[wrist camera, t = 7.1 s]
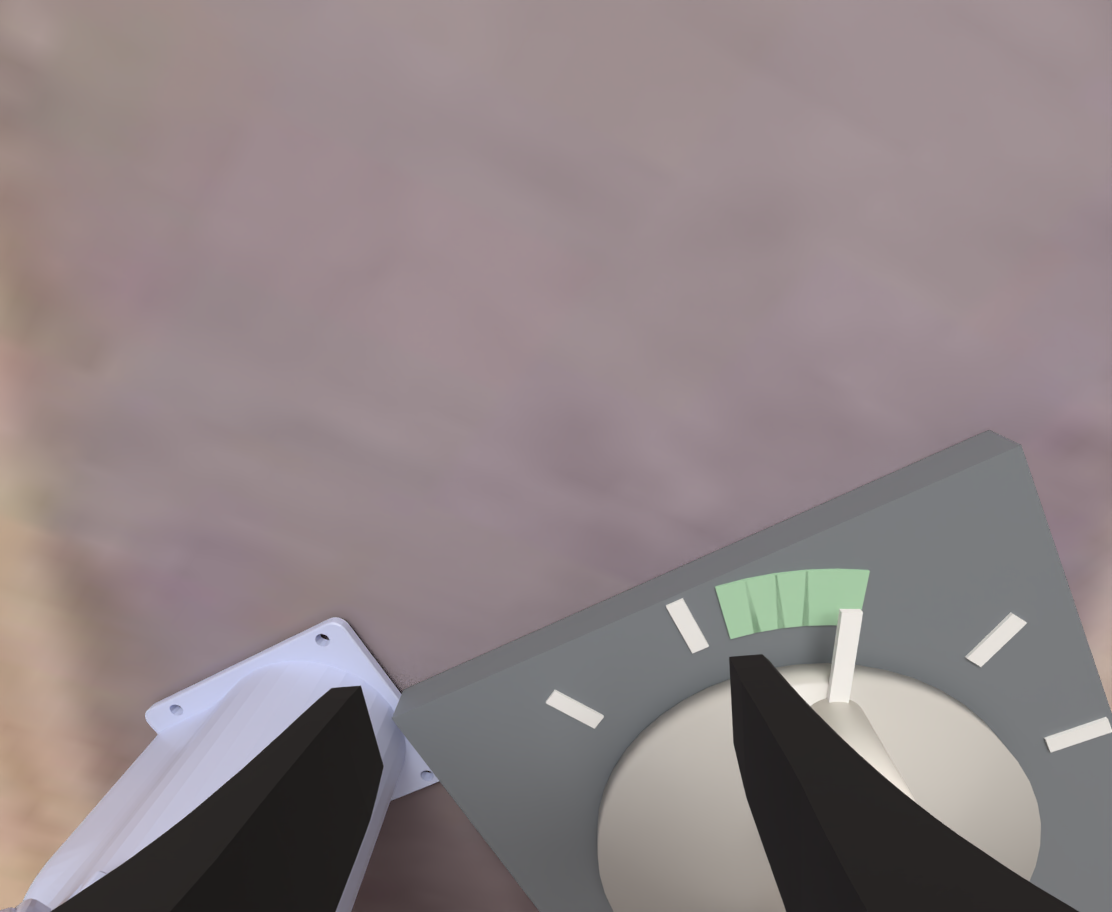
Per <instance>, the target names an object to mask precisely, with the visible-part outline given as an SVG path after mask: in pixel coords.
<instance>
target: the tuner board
mask: <svg viewBox="0 0 1112 912" xmlns="http://www.w3.org/2000/svg"><path fill="white" fill-rule="evenodd" d="M839 609H861V611H862V612H863V616H862V623H861V629H860V635H859V642H858V648H857V654H856V661H855V665H860V666H866V667H871V668H877V669H883V670H888V671H891V672H895V673H898V674H901V675H905V676H908V677H911V678H915V679H917V680H919V681H922V682H924V683H926V684H929V685H931V686H933V687H935V688H938V689H940V690H942V691H943V692H945V693H947V694H948V695H950V696H952V697H953V698H955V699H956V700H958V701H960V702H961V703H963V704H964V705H965V706H967V707H968V708H969V709H970V710H971V711H973V712H974V713H975V714H976V715H977V716H979V717H980V718H981V719H982V720H983V721H984V722H985V723H986V724H987V725H988V727H989V728H990V729H991V730H992V731H993V732H994V734H995V735H996V736H997V737H998V738H999V739H1000V741H1001V742H1002V743H1003V744H1004V745H1005V747H1006V748H1007V749H1008V750H1009V752H1010V753H1011V754H1012V755H1013V756H1014V758H1015V759H1016V760H1017V761H1018V763H1019V765H1020V766H1021V768H1022V770H1023V771H1024V773H1025V775H1026V776H1027V778H1028V779H1029V781H1030V784H1031V786H1032V789H1033V792H1034V795H1035V797H1036V800H1037V803H1038V809H1039V815H1040V821H1041V836H1040V849H1039V853H1038V858H1037V862H1036V867H1035V869H1034V871H1033V874H1032V876H1031V879H1030V881H1029V882H1031V883H1032V884H1034V885H1036V886H1037V887H1039V888H1040V889H1042V890H1044V891H1046V892H1047V893H1049V894H1051V895H1052V896H1054V897H1056V898H1057V899H1059V900H1061V901H1062V902H1064V903H1066V904H1067V905H1069V906H1071V907H1072V908H1074V909H1076V910H1077V911H1079V912H1112V713H1111V710H1110V707H1109V704H1108V701H1107V698H1106V695H1105V692H1104V689H1103V686H1102V683H1101V680H1100V677H1099V674H1098V671H1097V668H1096V665H1095V662H1094V659H1093V656H1092V653H1091V650H1090V648H1089V645H1088V642H1087V639H1086V636H1085V633H1084V630H1083V627H1082V624H1081V621H1080V618H1079V615H1078V612H1077V609H1076V606H1075V603H1074V600H1073V597H1072V594H1071V591H1070V588H1069V585H1068V582H1067V579H1066V576H1065V573H1064V570H1063V567H1062V565H1061V562H1060V559H1059V556H1058V553H1057V550H1056V547H1055V544H1054V541H1053V538H1052V535H1051V532H1050V529H1049V526H1048V523H1047V520H1046V517H1045V514H1044V511H1043V508H1042V505H1041V502H1040V499H1039V496H1038V493H1037V490H1036V487H1035V484H1034V481H1033V479H1032V476H1031V473H1030V470H1029V467H1028V464H1027V461H1026V458H1025V455H1024V452H1023V449H1022V446H1021V445H1020V444H1018V443H1016V442H1014V441H1012V440H1010V439H1008V438H1005V437H1003V436H1001V435H999V434H997V433H995V432H993V431H991V430H988V431H986V432H983V433H981V434H979V435H977V436H974V437H972V438H970V439H968V440H965V441H963V442H961V443H959V444H956V445H954V446H952V447H949V448H947V449H945V450H943V451H940V452H938V453H936V454H934V455H931V456H929V457H927V458H925V459H922V460H920V461H918V462H916V463H913V464H911V465H909V466H907V467H904V468H902V469H900V470H898V471H895V472H893V473H891V474H889V475H886V476H884V477H882V478H880V479H877V480H875V481H873V482H871V483H868V484H866V485H864V486H862V487H859V488H857V489H855V490H853V491H850V492H848V493H846V494H844V495H841V496H839V497H837V498H835V499H832V500H830V501H828V502H826V503H823V504H821V505H819V506H817V507H814V508H812V509H810V510H808V511H805V512H803V513H801V514H799V515H796V516H794V517H792V518H790V519H787V520H785V521H783V522H781V523H778V524H776V525H774V526H772V527H769V528H767V529H765V530H763V531H760V532H758V533H756V534H754V535H751V536H749V537H747V538H745V539H742V540H740V541H738V542H735V543H733V544H731V545H729V546H726V547H724V548H722V549H720V550H717V551H715V552H713V553H711V554H708V555H706V556H704V557H702V558H699V559H697V560H695V561H693V562H690V563H688V564H686V565H684V566H681V567H679V568H677V569H675V570H672V571H670V572H668V573H666V574H663V575H661V576H659V577H657V578H654V579H652V580H650V581H648V582H645V583H643V584H641V585H639V586H636V587H634V588H632V589H630V590H627V591H625V592H623V593H621V594H618V595H616V596H614V597H612V598H609V599H607V600H605V601H603V602H600V603H598V604H596V605H594V606H591V607H589V608H587V609H585V610H582V611H580V612H578V613H576V614H573V615H571V616H569V617H567V618H564V619H562V620H560V621H558V622H555V623H553V624H551V625H549V626H546V627H544V628H542V629H540V630H537V631H535V632H533V633H531V634H528V635H526V636H524V637H521V638H519V639H517V640H515V641H512V642H510V643H508V644H506V645H503V646H501V647H499V648H497V649H494V650H492V651H490V652H488V653H485V654H483V655H481V656H479V657H476V658H474V659H472V660H470V661H467V662H465V663H463V664H461V665H458V666H456V667H454V668H452V669H449V670H447V671H445V672H443V673H440V674H438V675H436V676H434V677H431V678H429V679H427V680H425V681H422V682H420V683H418V684H416V685H413V686H411V687H409V688H407V689H404V690H403V692H402V695H401V697H400V699H399V702H398V704H397V707H396V709H395V712H394V714H393V716H392V720H393V721H394V722H395V724H396V725H397V726H398V728H399V729H400V730H401V732H402V733H403V734H404V735H405V737H406V738H407V739H408V741H409V742H410V743H411V745H412V746H413V747H414V748H415V750H416V751H417V752H418V754H419V755H420V756H421V758H422V759H423V760H424V762H425V763H426V764H427V765H428V767H429V768H430V769H431V771H432V772H433V773H434V775H435V776H436V777H437V778H438V780H439V781H440V782H441V784H442V785H443V786H444V788H445V789H446V790H447V791H448V793H449V794H450V795H451V797H452V798H453V799H454V801H455V802H456V803H457V805H458V806H459V807H460V808H461V810H462V811H463V812H464V814H465V815H466V816H467V818H468V819H469V820H470V821H471V823H472V824H473V825H474V827H475V828H476V829H477V831H478V832H479V833H480V834H481V836H482V837H483V838H484V840H485V841H486V842H487V844H488V845H489V846H490V847H491V849H492V850H493V851H494V853H495V854H496V855H497V857H498V858H499V859H500V861H501V862H502V863H503V864H504V866H505V867H506V868H507V870H508V871H509V872H510V874H511V875H512V876H513V877H514V879H515V880H516V881H517V883H518V884H519V885H520V887H521V888H522V889H523V890H524V892H525V893H526V894H527V896H528V897H529V898H530V900H531V901H532V902H533V904H534V905H535V906H536V907H537V909H538V910H539V911H540V912H613V909H612V907H611V905H610V903H609V901H608V899H607V897H606V895H605V892H604V888H603V885H602V881H601V878H600V873H599V863H598V843H597V827H598V815H599V807H600V803H601V800H602V796H603V792H604V789H605V786H606V784H607V782H608V780H609V777H610V775H611V773H612V771H613V769H614V767H615V766H616V764H617V763H618V761H619V760H620V758H621V756H622V755H623V753H624V752H625V750H626V749H627V748H628V747H629V746H630V745H631V743H632V742H633V741H634V740H635V739H636V738H637V737H638V736H639V734H640V733H641V732H642V731H643V730H644V729H646V728H647V727H648V726H649V725H650V724H651V723H653V722H654V721H655V720H656V719H657V718H658V717H659V716H661V715H662V714H663V713H665V712H666V711H668V710H669V709H671V708H672V707H674V706H675V705H677V704H678V703H680V702H681V701H683V700H685V699H687V698H689V697H690V696H692V695H694V694H696V693H698V692H700V691H702V690H704V689H706V688H708V687H710V686H713V685H716V684H718V683H721V682H724V681H726V680H729V679H730V666H729V657H732V656H745V655H758V654H763V655H764V656H765V657H766V658H767V659H769V661H770V662H771V663H772V664H773V665H774V667H775V668H776V667H783V666H789V665H796V664H819V663H832V657H833V650H834V643H835V636H836V629H837V622H838V615H839Z"/></svg>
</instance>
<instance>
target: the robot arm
mask: <svg viewBox="0 0 1112 912" xmlns="http://www.w3.org/2000/svg"><path fill="white" fill-rule="evenodd" d="M320 634H324V635H326V636H327V637H329V640H327V639H324V638H322V637H321V635H320ZM729 666H730V686H731V706H732V726H733V744H734V748H735V752H736V757H737V761H738V765H739V770H740V774H741V778H742V782H743V786H744V790H745V794H746V798H747V801H748V804H749V807H750V810H751V813H752V816H753V819H754V821H755V824H756V827H757V830H758V833H759V836H760V839H761V842H762V844H763V847H764V850H765V853H766V856H767V859H768V861H769V864H770V867H771V870H772V873H773V876H774V878H775V881H776V884H777V887H778V890H779V893H780V895H781V898H782V901H783V904H784V907H785V910H786V912H1079V911H1077V910H1076V909H1074V908H1072V907H1071V906H1069V905H1067V904H1066V903H1064V902H1062V901H1061V900H1059V899H1057V898H1056V897H1054V896H1052V895H1051V894H1049V893H1047V892H1046V891H1044V890H1042V889H1040V888H1039V887H1037V886H1036V885H1034V884H1032V883H1031V882H1029V881H1028V880H1026V879H1024V878H1023V877H1021V876H1020V875H1018V874H1017V873H1015V872H1013V871H1012V870H1010V869H1009V868H1007V867H1006V866H1004V865H1003V864H1001V863H1000V862H998V861H997V860H995V859H994V858H992V857H991V856H989V855H988V854H987V853H985V852H984V851H982V850H981V849H979V848H978V847H976V846H975V845H973V844H972V843H970V842H969V841H967V840H966V839H964V838H963V837H961V836H960V835H958V834H957V833H955V832H954V831H953V830H951V829H950V828H949V827H947V826H946V825H945V824H943V823H942V822H940V821H939V820H938V819H936V818H935V817H934V816H932V815H931V814H930V813H929V812H927V811H926V810H925V809H923V808H922V807H921V806H920V805H918V804H917V803H916V802H915V801H913V800H912V799H911V798H909V797H908V796H907V795H906V794H905V793H903V792H902V791H901V790H900V789H898V788H897V787H896V786H895V785H894V784H892V783H891V782H890V781H889V780H888V779H887V778H885V777H884V776H883V775H882V774H881V773H880V772H878V771H877V770H876V769H875V768H874V767H873V766H872V765H871V764H870V763H868V762H867V761H866V760H865V759H864V758H863V757H862V756H861V755H859V754H858V753H857V752H856V751H855V750H854V749H853V748H852V747H851V746H850V745H849V744H848V743H847V742H846V741H844V740H843V739H842V738H841V737H840V736H839V735H838V734H837V733H836V732H835V731H834V730H833V729H832V728H831V727H830V726H829V725H828V724H827V723H826V722H825V721H824V720H823V719H822V718H821V717H820V716H819V715H818V714H817V713H816V712H815V711H814V710H813V709H812V708H811V707H810V706H809V704H808V703H807V702H806V701H805V700H804V699H803V698H802V697H801V696H800V695H799V694H798V693H797V692H796V690H795V689H794V688H793V687H792V686H791V685H790V684H789V683H788V682H787V680H786V679H785V678H784V677H783V676H782V675H781V674H780V672H779V671H778V670H777V669H776V668H775V667H774V665H773V664H772V663H771V662H770V661H769V659H767V658H766V657H765V656H764V655H763V654H758V655H745V656H732V657H729ZM401 695H402V694H401V693H400V692H399V690H398V689H397V688H396V686H395V685H394V684H393V682H392V681H391V680H390V678H389V677H388V676H387V674H386V673H385V672H384V670H383V669H382V668H381V666H380V665H379V664H378V662H377V661H376V660H375V658H374V657H373V656H372V654H371V653H370V652H369V650H368V649H367V648H366V646H365V645H364V644H363V642H362V641H361V640H360V638H359V637H358V636H357V634H356V633H355V632H354V630H353V629H352V628H351V626H350V625H349V624H348V623H347V622H346V621H345V620H343V619H341V618H336V617H334V618H330V619H328V620H325V621H323V622H321V623H319V624H317V625H315V626H313V627H311V628H309V629H307V630H305V631H303V632H301V633H299V634H297V635H295V636H293V637H290V638H288V639H286V640H284V641H282V642H280V643H278V644H276V645H274V646H272V647H270V648H268V649H266V650H264V651H262V652H260V653H258V654H256V655H253V656H251V657H249V658H247V659H245V660H243V661H241V662H239V663H237V664H235V665H233V666H231V667H229V668H227V669H225V670H223V671H221V672H218V673H216V674H214V675H212V676H210V677H208V678H206V679H204V680H202V681H200V682H198V683H196V684H194V685H192V686H190V687H188V688H186V689H184V690H181V691H179V692H177V693H175V694H173V695H171V696H169V697H167V698H165V699H163V700H161V701H159V702H157V703H155V704H153V705H152V706H151V707H150V708H149V709H148V710H147V711H146V714H145V718H146V721H147V722H148V724H149V725H150V726H151V727H152V728H153V729H154V730H155V731H156V732H157V734H158V735H157V736H156V737H155V739H154V740H153V741H152V742H151V743H150V744H149V745H148V747H147V748H146V749H145V750H144V751H143V752H142V754H141V755H140V756H139V757H138V758H137V759H136V760H135V762H134V763H133V764H132V765H131V766H130V767H129V768H128V770H127V771H126V772H125V773H124V774H123V775H122V776H121V778H120V779H119V780H118V781H117V782H116V783H115V785H114V786H113V787H112V788H111V789H110V790H109V791H108V793H107V794H106V795H105V796H104V797H103V798H102V799H101V801H100V802H99V803H98V804H97V805H96V806H95V808H94V809H93V810H92V811H91V812H90V813H89V814H88V816H87V817H86V818H85V819H84V820H83V821H82V822H81V824H80V825H79V826H78V827H77V828H76V829H75V831H74V832H73V833H72V834H71V835H70V836H69V837H68V839H67V840H66V841H65V842H64V843H63V844H62V845H61V847H60V848H59V849H58V850H57V851H56V852H55V853H54V855H53V856H52V857H51V858H50V859H49V860H48V862H47V863H46V864H45V865H44V867H43V868H42V869H41V871H40V872H39V874H38V875H37V876H36V878H35V879H34V881H33V883H32V884H31V886H30V888H29V889H28V891H27V893H26V895H25V897H24V899H23V902H21V903H20V904H19V905H18V906H16V907H15V908H12V907H10V908H6V909H3V910H0V912H351V911H352V908H353V906H354V903H355V900H356V897H357V894H358V891H359V889H360V886H361V883H362V880H363V877H364V874H365V872H366V869H367V866H368V863H369V860H370V857H371V855H372V852H373V849H374V846H375V843H376V840H377V838H378V835H379V832H380V829H381V826H382V823H383V821H384V818H385V815H386V812H387V809H388V806H389V804H390V801H392V800H394V799H397V798H399V797H402V796H404V795H407V794H409V793H412V792H414V791H417V790H419V789H422V788H424V787H427V786H429V785H432V784H434V783H437V782H439V780H438V778H437V777H436V776H435V775H434V773H433V772H432V771H431V769H430V768H429V767H428V765H427V764H426V763H425V762H424V760H423V759H422V758H421V756H420V755H419V754H418V752H417V751H416V750H415V748H414V747H413V746H412V745H411V743H410V742H409V741H408V739H407V738H406V737H405V735H404V734H403V733H402V732H401V730H400V729H399V728H398V726H397V725H396V724H395V722H394V721H393V720H392V716H393V714H394V712H395V709H396V707H397V704H398V702H399V699H400V697H401ZM178 705H179V706H180V707H179V706H178ZM181 707H182V708H181ZM425 770H428V771H431V773H429V772H426V771H425Z"/></svg>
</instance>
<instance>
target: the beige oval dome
mask: <svg viewBox="0 0 1112 912" xmlns="http://www.w3.org/2000/svg"><path fill="white" fill-rule="evenodd" d="M862 616H863V612H862V611H861V609H839V615H838V622H837V629H836V636H835V643H834V650H833V657H832V663H819V664H796V665H789V666H783V667H776V669H777V670H778V671H779V672H780V674H781V675H782V676H783V677H784V678H785V679H786V680H787V682H788V683H789V684H790V685H791V686H792V687H793V688H794V689H795V690H796V692H797V693H798V694H799V695H800V696H801V697H802V698H803V699H804V700H805V701H806V702H807V703H808V704H809V706H810V707H811V708H812V709H813V710H814V711H815V712H816V713H817V714H818V715H819V716H820V717H821V718H822V719H823V720H824V721H825V722H826V723H827V724H828V725H829V726H830V727H831V728H832V729H833V730H834V731H835V732H836V733H837V734H838V735H839V736H840V737H841V738H842V739H843V740H844V741H846V742H847V743H848V744H849V745H850V746H851V747H852V748H853V749H854V750H855V751H856V752H857V753H858V754H859V755H861V756H862V757H863V758H864V759H865V760H866V761H867V762H868V763H870V764H871V765H872V766H873V767H874V768H875V769H876V770H877V771H878V772H880V773H881V774H882V775H883V776H884V777H885V778H887V779H888V780H889V781H890V782H891V783H892V784H894V785H895V786H896V787H897V788H898V789H900V790H901V791H902V792H903V793H905V794H906V795H907V796H908V797H909V798H911V799H912V800H913V801H915V802H916V803H917V804H918V805H920V806H921V807H922V808H923V809H925V810H926V811H927V812H929V813H930V814H931V815H932V816H934V817H935V818H936V819H938V820H939V821H940V822H942V823H943V824H945V825H946V826H947V827H949V828H950V829H951V830H953V831H954V832H955V833H957V834H958V835H960V836H961V837H963V838H964V839H966V840H967V841H969V842H970V843H972V844H973V845H975V846H976V847H978V848H979V849H981V850H982V851H984V852H985V853H987V854H988V855H989V856H991V857H992V858H994V859H995V860H997V861H998V862H1000V863H1001V864H1003V865H1004V866H1006V867H1007V868H1009V869H1010V870H1012V871H1013V872H1015V873H1017V874H1018V875H1020V876H1021V877H1023V878H1024V879H1026V880H1028V881H1030V879H1031V876H1032V874H1033V871H1034V869H1035V867H1036V862H1037V858H1038V853H1039V849H1040V836H1041V821H1040V815H1039V809H1038V803H1037V800H1036V797H1035V795H1034V792H1033V789H1032V786H1031V784H1030V781H1029V779H1028V778H1027V776H1026V775H1025V773H1024V771H1023V770H1022V768H1021V766H1020V765H1019V763H1018V761H1017V760H1016V759H1015V758H1014V756H1013V755H1012V754H1011V753H1010V752H1009V750H1008V749H1007V748H1006V747H1005V745H1004V744H1003V743H1002V742H1001V741H1000V739H999V738H998V737H997V736H996V735H995V734H994V732H993V731H992V730H991V729H990V728H989V727H988V725H987V724H986V723H985V722H984V721H983V720H982V719H981V718H980V717H979V716H977V715H976V714H975V713H974V712H973V711H971V710H970V709H969V708H968V707H967V706H965V705H964V704H963V703H961V702H960V701H958V700H956V699H955V698H953V697H952V696H950V695H948V694H947V693H945V692H943V691H942V690H940V689H938V688H935V687H933V686H931V685H929V684H926V683H924V682H922V681H919V680H917V679H915V678H911V677H908V676H905V675H901V674H898V673H895V672H891V671H888V670H883V669H877V668H871V667H866V666H860V665H855V661H856V654H857V648H858V642H859V635H860V629H861V623H862ZM597 843H598V863H599V873H600V878H601V881H602V885H603V888H604V892H605V895H606V897H607V899H608V901H609V903H610V905H611V907H612V909H613V912H786V910H785V907H784V904H783V901H782V898H781V895H780V893H779V890H778V887H777V884H776V881H775V878H774V876H773V873H772V870H771V867H770V864H769V861H768V859H767V856H766V853H765V850H764V847H763V844H762V842H761V839H760V836H759V833H758V830H757V827H756V824H755V821H754V819H753V816H752V813H751V810H750V807H749V804H748V801H747V798H746V794H745V790H744V786H743V782H742V778H741V774H740V770H739V765H738V761H737V757H736V752H735V748H734V744H733V726H732V706H731V686H730V679H729V680H726V681H724V682H721V683H718V684H716V685H713V686H710V687H708V688H706V689H704V690H702V691H700V692H698V693H696V694H694V695H692V696H690V697H689V698H687V699H685V700H683V701H681V702H680V703H678V704H677V705H675V706H674V707H672V708H671V709H669V710H668V711H666V712H665V713H663V714H662V715H661V716H659V717H658V718H657V719H656V720H655V721H654V722H653V723H651V724H650V725H649V726H648V727H647V728H646V729H644V730H643V731H642V732H641V733H640V734H639V736H638V737H637V738H636V739H635V740H634V741H633V742H632V743H631V745H630V746H629V747H628V748H627V749H626V750H625V752H624V753H623V755H622V756H621V758H620V760H619V761H618V763H617V764H616V766H615V767H614V769H613V771H612V773H611V775H610V777H609V780H608V782H607V784H606V786H605V789H604V792H603V796H602V800H601V803H600V807H599V815H598V827H597Z"/></svg>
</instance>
